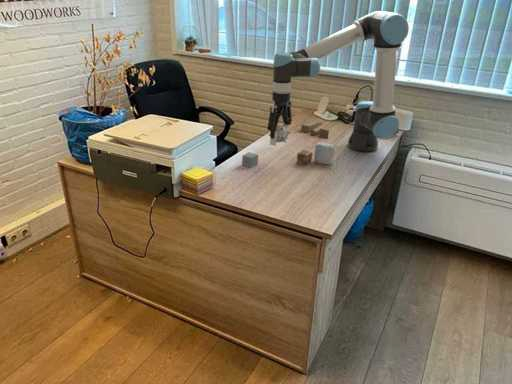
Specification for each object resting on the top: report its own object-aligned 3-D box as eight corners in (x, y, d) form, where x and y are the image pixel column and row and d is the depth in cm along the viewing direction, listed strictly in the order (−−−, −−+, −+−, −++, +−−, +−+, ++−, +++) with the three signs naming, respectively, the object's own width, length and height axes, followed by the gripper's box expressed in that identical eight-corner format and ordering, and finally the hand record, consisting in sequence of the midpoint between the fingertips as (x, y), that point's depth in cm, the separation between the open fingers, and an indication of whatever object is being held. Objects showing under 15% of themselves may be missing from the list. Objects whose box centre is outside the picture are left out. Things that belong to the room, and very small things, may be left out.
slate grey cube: (257, 164, 196) (258, 154, 194) (251, 168, 192) (251, 158, 190) (248, 162, 198) (248, 152, 196) (242, 165, 194) (242, 155, 192)
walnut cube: (311, 162, 201) (312, 152, 198) (306, 165, 197) (307, 155, 195) (301, 159, 203) (302, 149, 201) (296, 163, 199) (297, 152, 197)
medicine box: (333, 162, 201) (335, 144, 197) (330, 165, 198) (332, 147, 194) (316, 158, 204) (318, 141, 200) (313, 162, 201) (315, 144, 197)
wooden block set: (300, 123, 236) (317, 115, 249) (299, 132, 238) (316, 125, 251) (328, 129, 227) (343, 121, 240) (326, 139, 229) (342, 131, 242)
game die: (282, 151, 193) (288, 139, 185) (264, 143, 193) (269, 130, 185) (288, 136, 198) (294, 124, 189) (271, 129, 198) (277, 116, 189)
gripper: (287, 85, 192) (284, 133, 203) (259, 95, 176) (258, 146, 186) (301, 88, 189) (298, 136, 199) (275, 98, 172) (273, 150, 183)
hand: (279, 141), depth 193 cm, fingers closed on game die, 9 cm apart
